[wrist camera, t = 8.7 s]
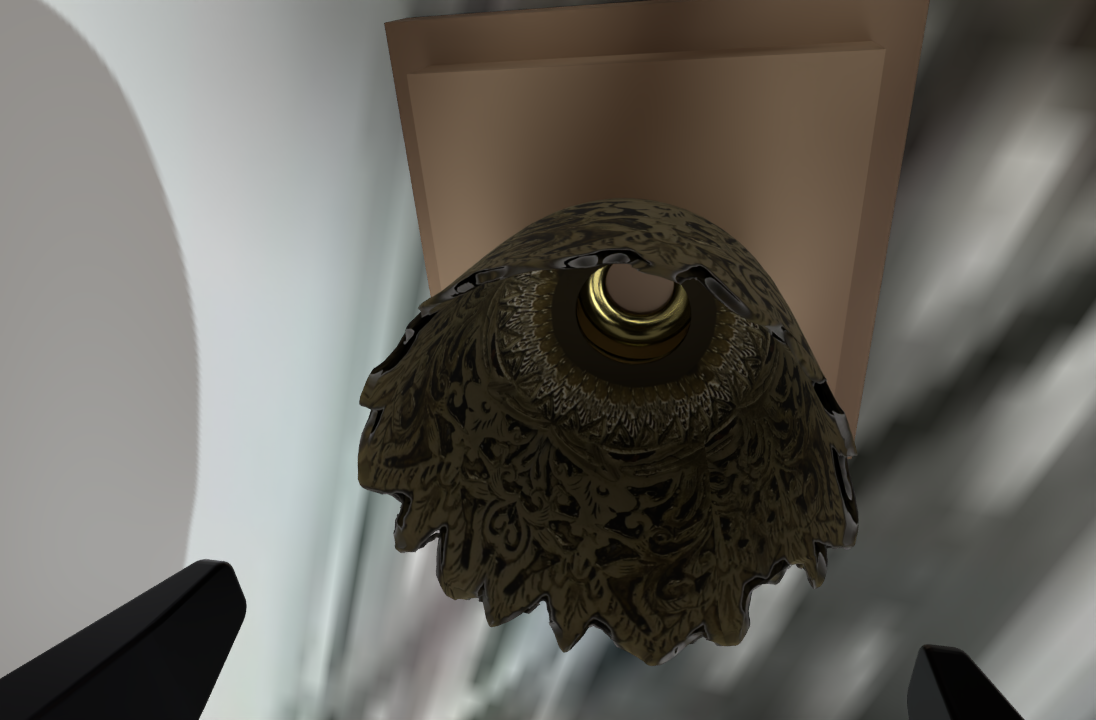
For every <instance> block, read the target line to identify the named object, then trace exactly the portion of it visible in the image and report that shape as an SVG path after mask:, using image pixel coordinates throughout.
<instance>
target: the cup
mask: <svg viewBox="0 0 1096 720" xmlns="http://www.w3.org/2000/svg"><path fill="white" fill-rule="evenodd" d="M613 264H630V265H632V268H635V269H636V270H638V271H640V272H642V273H645V274H650V275H654V276H659V277H662V278H665V279H668V280H670V281H673V283H674V284H673V292H672V295H671V298H670V299H669V301H668V302H667V304H666V305H665V306H664V307H662V308H661V309H660V310H658V311H656V312H654V313H651V314H646V315H636V314H631V313H628V312H625V311H623V310H622V309H620V308H619V307H617V306H616V305H615V304H614V303H613V302H612V300H611V299H610V297H609V295H608V292H607V288H606V278H607V274H608V272H609V269H610V268H611V266H612V265H613ZM418 309H419V310H420V311H421V312H420V313H419V314H418V315H417V316H416V317H415V318H414V319H413V320H412V321H411V322H410V323H409V324H408V326H407V327H406V330H405V331H406V332H405V334H404V335H403V337H402V338H401V340H400V342H399V344H398V346H397V347H396V348H395V350H394V351H393V352H392V353H391V354H390V355H389V356H388V357H387V358H386V360H385V361H383V362H382V363H381V364H380V365H378V366H377V367H375V368H374V369H373V370H372V372H371V373H370V375H369V377H368V379H367V381H366V383H365V386H364V388H363V391H362V393H361V396H360V401H359V404H360V405H361V406H364V407H367V408H369V409H371V412H370V415H369V418H368V420H367V423H366V425H365V428H364V430H363V432H362V435H361V439H360V444H359V453H358V480H359V483H360V485H361V486H362V487H363V488H364V489H367V490H370V491H373V492H377V493H380V494H389V495H391V496H393V497H394V498H396V499H397V500H398V501H399V502H401V503H402V504H401V507H400V508H401V509H400V513H399V514H397V518H396V520H395V530H394V538H395V548H396V549H397V550H398V551H399V552H400V553H405V552H416V551H417V550H418V549H420V548H423V547H425V545H426V543H428V542H430V541H433V540H435V538H439V540H438V547H437V566H436V576H437V578H438V581H439V583H440V586H441V587H442V589H443V591H444V593H445V594H446V595H447V596H448V597H450V598H452V599H454V600H457V599H465V600H470V599H471V598H479V602H483V605H484V610H485V615H486V619H487V622H488V624H489V626H490V627H495V626H498V625H501V624H503V623H506V622H509V621H510V620H512V619H514V618H515V617H517V616H519V615H521V614H522V613H523V612H524V613H528V614H529V613H531V612H532V611H533V610H534V609H535V608H536V607H537V606H538V605H540V604H539V602H541V601H545V602H546V603H547V610H548V613H549V620H550V622H549V625H550V626H551V628H552V630H553V632H554V634H555V637H556V639H557V642H558V645H559V647H560V649H561V650H562V651H563V652H568V651H569V650H571V649H572V647H574V645H575V644H576V643H577V642H578V641H579V640H580V639H581V638H582V636H583V635H584V634H585V632H586V631H587V629H588V628H589V627H592V626H595V627H596V628H599V629H601V630H603V631H604V633H606V634H607V635H608V636H609V637H610V639H611V640H613V641H614V644H615V645H616V647H619V648H621V649H623V650H625V651H627V652H629V653H631V654H633V655H635V656H636V657H638V658H639V659H641V660H642V661H644V662H645V663H646V664H647V665H650V666H656V665H661V664H664V663H665V662H667V661H669V660H670V659H672V658H673V657H674V656H675V655H677V654H678V653H679V652H680V651H681V650H682V649H683V648H685V647H686V646H687V645H688V644H693V643H694V642H696V641H697V640H698V639H699V638H701V637H705V638H706V640H709V641H712V642H714V643H715V644H716V645H717V646H736V645H738V644H740V643H741V641H742V640H743V638H744V637H745V635H746V633H747V631H748V629H749V627H750V618H749V611H748V610H749V605H750V601H751V594H752V591H753V590H754V589H756V588H757V587H759V586H761V585H762V584H774V585H776V584H778V583H779V582H780V581H781V579H782V578H783V576H784V574H785V572H786V570H787V569H789V568H790V567H791V566H792V565H794V564H796V566H797V567H798V568H800V569H802V568H804V570H805V571H806V573H807V577H808V581H809V583H810V584H811V586H812V587H813V589H815V588H817V587H820V586H821V585H822V583H823V582H824V579H825V576H826V572H827V565H828V564H827V562H828V561H827V560H828V559H827V548H833V549H837V548H840V547H843V548H845V549H847V550H848V549H850V548H852V547H853V546H854V545H855V541H856V537H857V532H858V509H857V504H856V497H855V493H854V489H853V484H852V481H851V477H850V472H849V466H848V459H847V457H850V456H857V450H856V446H855V442H854V439H853V435H852V433H851V429H850V426H849V423H848V420H847V418H846V415H845V412H844V411H843V410H842V409H841V407H840V406H839V405H838V403H837V401H836V399H835V397H834V396H833V394H832V392H831V390H830V388H829V386H828V384H827V382H828V381H827V379H826V378H825V376H824V374H823V373H822V371H821V369H820V367H819V365H818V363H817V361H816V358H815V356H814V354H813V352H812V350H811V348H810V346H809V344H808V342H807V340H806V338H805V336H804V334H803V332H802V330H801V328H800V327H799V325H798V323H797V321H796V319H795V317H794V315H793V313H792V311H791V309H790V308H789V306H788V304H787V303H786V301H785V299H784V298H783V296H782V294H781V293H780V291H779V290H778V288H777V286H776V285H775V283H774V281H773V280H772V278H771V277H770V276H769V275H768V273H767V272H766V271H765V270H764V268H763V267H762V266H761V265H760V263H759V262H758V261H757V260H756V258H755V257H754V256H753V255H752V254H751V253H750V252H749V251H748V250H747V249H746V248H745V247H744V246H743V245H742V244H741V243H740V242H739V241H737V240H736V239H735V238H733V237H732V236H731V235H730V234H728V233H727V232H726V231H724V230H723V229H722V228H720V227H719V226H717V225H715V224H714V223H712V222H710V221H709V220H707V219H705V218H704V217H701V216H699V215H697V214H695V213H693V212H690V211H688V210H686V209H683V208H680V207H677V206H674V205H671V204H667V203H662V202H658V201H653V200H645V199H635V198H612V199H604V200H596V201H591V202H586V203H582V204H578V205H574V206H570V207H568V208H565V209H562V210H559V211H556V212H554V213H552V214H550V215H548V216H546V217H544V218H542V219H540V220H538V221H536V222H534V223H532V224H530V225H528V226H527V227H525V228H524V229H522V230H521V231H519V232H517V233H516V234H514V235H513V236H511V237H510V238H509V239H507V240H506V241H504V242H503V243H501V244H500V245H499V246H497V247H496V248H495V249H493V250H492V251H491V252H490V253H488V254H487V255H486V256H484V257H483V258H482V259H481V260H479V261H478V262H477V263H476V264H474V265H473V266H472V267H471V268H469V269H468V270H467V271H466V272H465V273H463V274H462V275H461V276H460V277H458V278H457V279H456V280H455V281H454V282H452V283H451V284H450V285H449V286H447V287H446V288H445V289H444V290H442V291H441V292H439V293H437V294H436V295H434V296H432V297H431V298H429V299H428V300H426V301H425V302H423V303H422V304H421V305H420V306H419V307H418ZM826 381H827V382H826ZM437 530H439V531H440V533H435V534H433V533H434V532H435V531H437ZM431 534H433V535H431ZM430 535H431V536H430ZM429 536H430V537H429ZM826 544H828V545H830V546H826ZM790 565H791V566H790ZM788 566H789V567H788ZM610 635H611V636H612V637H611V636H610Z"/></svg>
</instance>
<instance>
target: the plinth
mask: <svg viewBox="0 0 1096 720" xmlns="http://www.w3.org/2000/svg"><path fill="white" fill-rule="evenodd" d="M929 2H930V0H650V1H636V2H622V3H608V4H594V5H580V6H566V7H552V8H538V9H524V10H510V11H497V12H483V13H469V14H455V15H441V16H427V17H413V18H405V19H400V20H395V21H391V22H386V23H384V24H385V30H386V36H387V42H388V48H389V54H390V60H391V66H392V71H393V77H394V83H395V89H396V95H397V101H398V107H399V113H400V118H401V124H402V130H403V136H404V142H405V148H406V154H407V160H408V166H409V171H410V177H411V183H412V189H413V195H414V201H415V207H416V213H417V218H418V224H419V230H420V236H421V242H422V248H423V254H424V260H425V266H426V271H427V277H428V283H429V289H430V295H431V297H432V296H434V295H436V294H437V293H439V292H441V291H442V290H444V289H445V288H446V287H447V286H449V285H450V284H451V283H452V282H454V281H455V280H456V279H457V278H458V277H460V276H461V275H462V274H463V273H465V272H466V271H467V270H468V269H469V268H471V267H472V266H473V265H474V264H476V263H477V262H478V261H479V260H481V259H482V258H483V257H484V256H486V255H487V254H488V253H490V252H491V251H492V250H493V249H495V248H496V247H497V246H499V245H500V244H501V243H503V242H504V241H506V240H507V239H509V238H510V237H511V236H513V235H514V234H516V233H517V232H519V231H521V230H522V229H524V228H525V227H527V226H528V225H530V224H532V223H534V222H536V221H538V220H540V219H542V218H544V217H546V216H548V215H550V214H552V213H554V212H556V211H559V210H562V209H565V208H568V207H570V206H574V205H578V204H582V203H586V202H591V201H596V200H604V199H612V198H635V199H645V200H653V201H658V202H662V203H667V204H671V205H674V206H677V207H680V208H683V209H686V210H688V211H690V212H693V213H695V214H697V215H699V216H701V217H704V218H705V219H707V220H709V221H710V222H712V223H714V224H715V225H717V226H719V227H720V228H722V229H723V230H724V231H726V232H727V233H728V234H730V235H731V236H732V237H733V238H735V239H736V240H737V241H739V242H740V243H741V244H742V245H743V246H744V247H745V248H746V249H747V250H748V251H749V252H750V253H751V254H752V255H753V256H754V257H755V258H756V260H757V261H758V262H759V263H760V265H761V266H762V267H763V268H764V270H765V271H766V272H767V273H768V275H769V276H770V277H771V278H772V280H773V281H774V283H775V285H776V286H777V288H778V290H779V291H780V293H781V294H782V296H783V298H784V299H785V301H786V303H787V304H788V306H789V308H790V309H791V311H792V313H793V315H794V317H795V319H796V321H797V323H798V325H799V327H800V328H801V330H802V332H803V334H804V336H805V338H806V340H807V342H808V344H809V346H810V348H811V350H812V352H813V354H814V356H815V358H816V361H817V363H818V365H819V367H820V369H821V371H822V373H823V374H824V376H825V378H826V379H827V381H828V382H827V381H826V382H827V384H828V386H829V388H830V390H831V392H832V394H833V396H834V397H835V399H836V401H837V403H838V405H839V406H840V407H841V409H842V410H843V411H844V412H845V415H846V418H847V420H848V423H849V426H850V429H851V433H852V435H853V439H854V440H855V434H856V428H857V422H858V416H859V410H860V404H861V399H862V393H863V387H864V381H865V375H866V369H867V364H868V358H869V352H870V346H871V340H872V334H873V329H874V323H875V317H876V311H877V305H878V299H879V294H880V288H881V282H882V276H883V270H884V264H885V259H886V253H887V247H888V241H889V235H890V229H891V223H892V218H893V212H894V206H895V200H896V194H897V188H898V183H899V177H900V171H901V165H902V159H903V153H904V148H905V142H906V136H907V130H908V124H909V118H910V113H911V107H912V101H913V95H914V89H915V83H916V78H917V72H918V66H919V60H920V54H921V48H922V43H923V37H924V31H925V25H926V19H927V13H928V7H929ZM673 284H674V283H673V281H670V280H668V279H665V278H662V277H659V276H654V275H650V274H645V273H642V272H640V271H638V270H636V269H635V268H632V265H630V264H613V265H612V266H611V268H610V269H609V272H608V274H607V278H606V288H607V292H608V295H609V297H610V299H611V300H612V302H613V303H614V304H615V305H616V306H617V307H619V308H620V309H622V310H623V311H625V312H628V313H631V314H636V315H646V314H651V313H654V312H656V311H658V310H660V309H661V308H662V307H664V306H665V305H666V304H667V302H668V301H669V299H670V298H671V295H672V292H673ZM851 457H852V456H850V457H847V459H851Z"/></svg>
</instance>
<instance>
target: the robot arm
mask: <svg viewBox="0 0 1096 720" xmlns="http://www.w3.org/2000/svg"><path fill="white" fill-rule="evenodd" d="M246 607H247V605H246V599H245V597H244V594H243V592H242V589H241V587H240V584H239V582H238V579H237V577H236V574H235V572H234V569H233V567H232V566H231V565H230V564H229V563H228V562H225V561H217V560H209V559H203V560H199V561H196V562H195V563H193V564H191V565H189V566H188V567H186V568H184V569H183V570H181V571H179V572H178V573H176V574H174V575H173V576H171V577H169V578H168V579H166V580H164V581H163V582H161V583H159V584H158V585H156V586H154V587H153V588H151V589H149V590H148V591H146V592H144V593H143V594H141V595H139V596H138V597H136V598H134V599H133V600H131V601H129V602H128V603H126V604H124V605H123V606H121V607H119V608H118V609H116V610H114V611H113V612H111V613H109V614H107V615H106V616H104V617H103V618H101V619H99V620H97V621H96V622H94V623H92V624H91V625H89V626H88V627H86V628H84V629H83V630H81V631H79V632H77V633H76V634H74V635H73V636H71V637H69V638H68V639H66V640H64V641H63V642H61V643H59V644H58V645H56V646H54V647H52V648H51V649H49V650H47V651H46V652H44V653H42V654H41V655H39V656H37V657H36V658H34V659H32V660H31V661H29V662H27V663H26V664H24V665H22V666H21V667H19V668H17V669H16V670H14V671H12V672H11V673H9V674H7V675H6V676H4V677H2V678H1V679H0V720H199V718H200V716H201V714H202V712H203V710H204V708H205V706H206V703H207V701H208V699H209V697H210V694H211V692H212V690H213V688H214V685H215V683H216V681H217V679H218V677H219V674H220V672H221V670H222V668H223V665H224V663H225V661H226V659H227V656H228V654H229V652H230V650H231V648H232V645H233V643H234V641H235V639H236V636H237V634H238V632H239V630H240V627H241V625H242V623H243V621H244V618H245V614H246ZM907 706H908V715H909V720H1024V719H1023V717H1022V716H1021V715H1020V714H1019V713H1018V712H1017V711H1016V709H1015V708H1014V707H1013V706H1012V705H1011V704H1010V703H1009V701H1008V700H1007V699H1006V698H1005V697H1004V696H1003V695H1002V693H1001V692H1000V691H999V690H998V689H997V688H996V687H995V685H994V684H993V683H992V682H991V681H990V680H989V679H988V677H987V676H986V675H985V674H984V673H983V672H982V671H981V669H980V668H979V667H978V666H977V665H976V664H975V663H974V661H973V660H972V659H971V658H970V657H969V656H968V655H967V654H966V653H965V652H964V651H962V650H961V649H959V648H955V647H947V646H938V645H930V644H927V645H923V646H922V647H921V648H920V650H919V652H918V655H917V658H916V662H915V666H914V669H913V673H912V676H911V680H910V684H909V687H908V694H907Z"/></svg>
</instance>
